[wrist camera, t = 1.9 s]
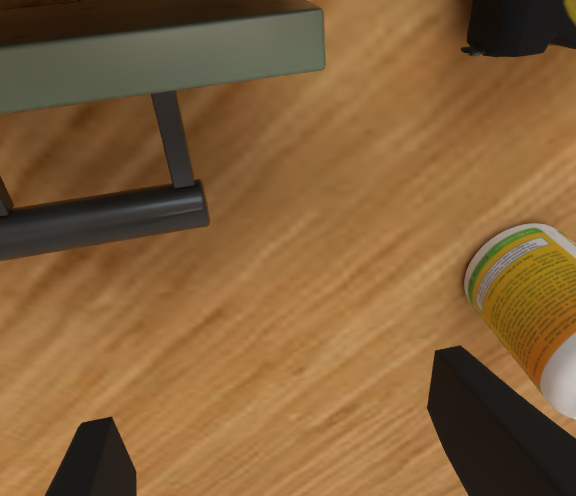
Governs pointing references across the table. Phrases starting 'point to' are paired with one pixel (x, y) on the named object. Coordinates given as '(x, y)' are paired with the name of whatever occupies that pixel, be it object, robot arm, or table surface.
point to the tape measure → (520, 27)
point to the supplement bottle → (531, 305)
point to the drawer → (133, 82)
